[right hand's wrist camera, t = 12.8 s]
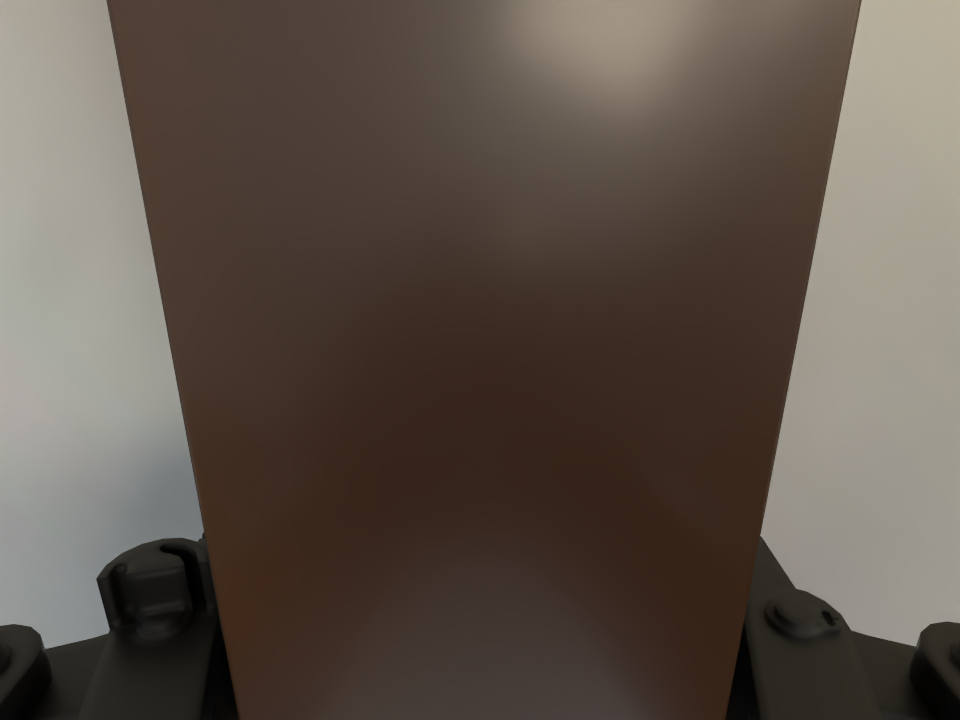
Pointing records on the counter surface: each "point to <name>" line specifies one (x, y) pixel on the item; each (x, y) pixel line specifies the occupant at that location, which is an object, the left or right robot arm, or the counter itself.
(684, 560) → the walnut beam
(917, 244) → the counter surface
